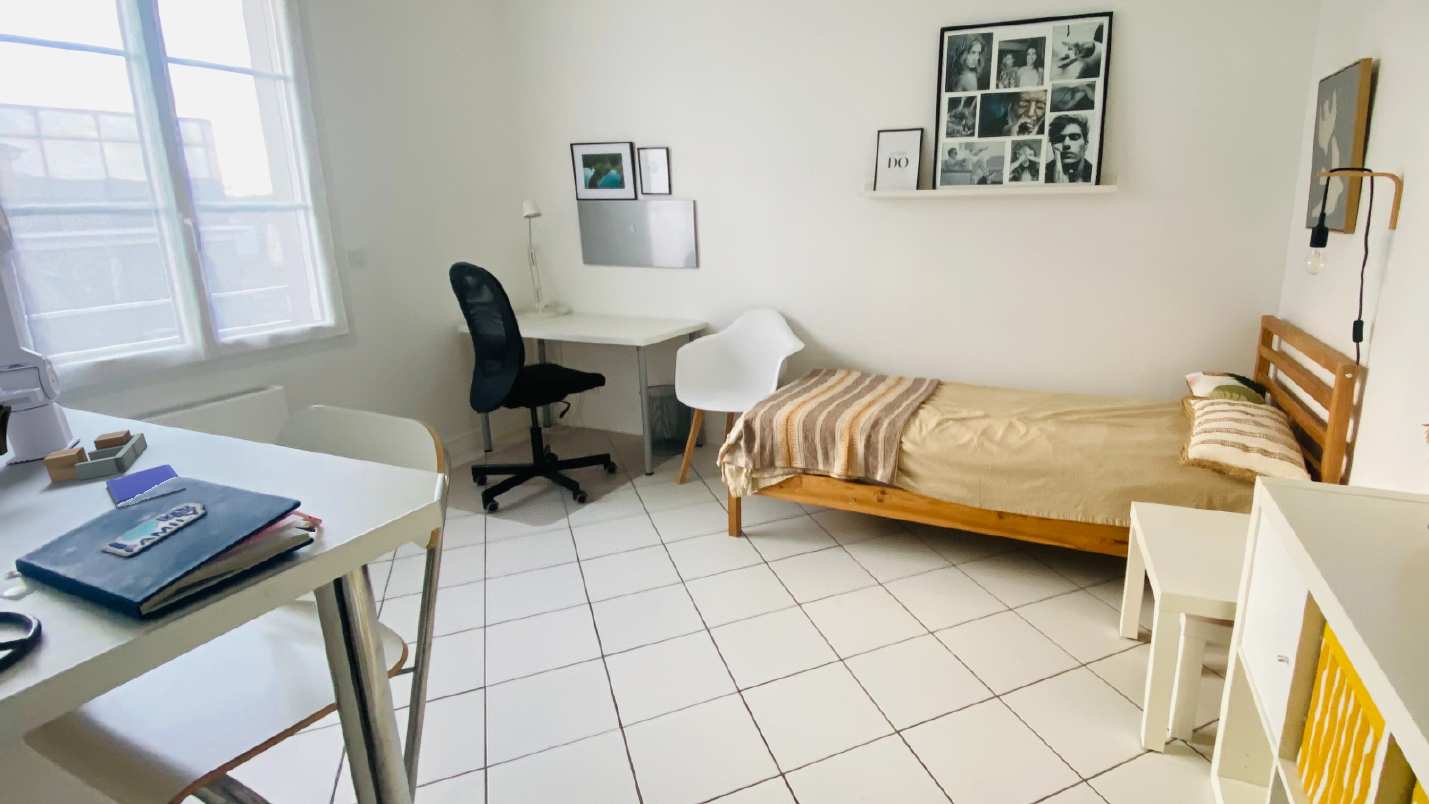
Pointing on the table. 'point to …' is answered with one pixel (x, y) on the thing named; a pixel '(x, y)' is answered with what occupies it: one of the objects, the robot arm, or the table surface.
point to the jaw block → (64, 463)
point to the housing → (111, 458)
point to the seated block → (112, 439)
